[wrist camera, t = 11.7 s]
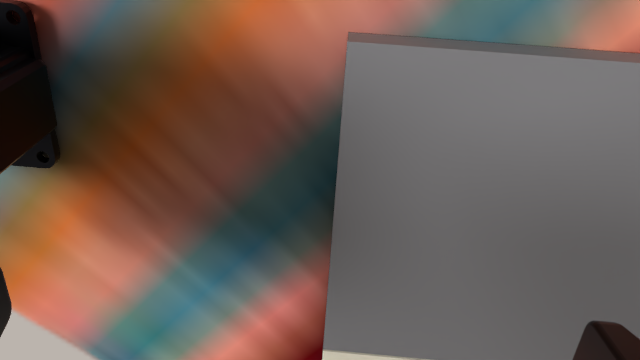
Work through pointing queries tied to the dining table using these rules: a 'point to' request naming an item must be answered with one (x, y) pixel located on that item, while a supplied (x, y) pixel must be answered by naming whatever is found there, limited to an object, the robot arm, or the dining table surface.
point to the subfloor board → (482, 200)
